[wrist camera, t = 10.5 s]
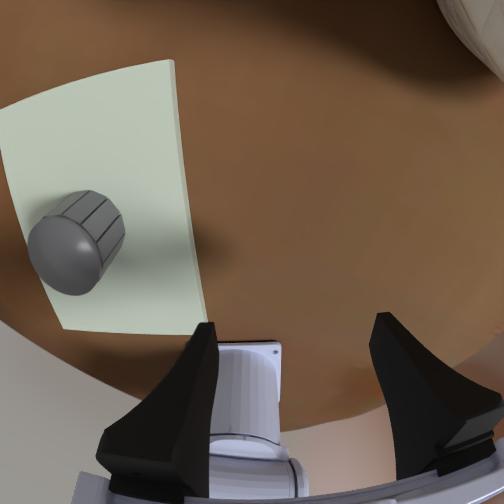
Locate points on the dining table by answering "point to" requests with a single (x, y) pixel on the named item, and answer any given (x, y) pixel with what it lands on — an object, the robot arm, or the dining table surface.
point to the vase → (479, 29)
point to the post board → (113, 192)
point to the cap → (76, 242)
